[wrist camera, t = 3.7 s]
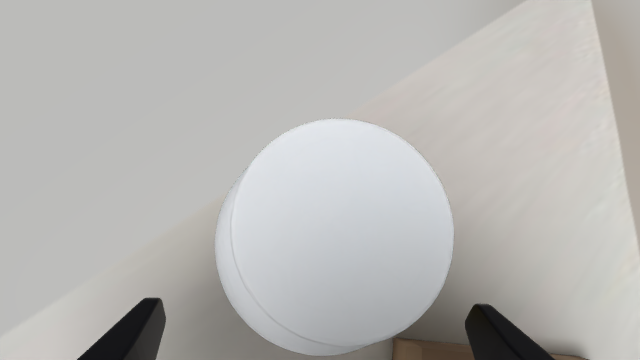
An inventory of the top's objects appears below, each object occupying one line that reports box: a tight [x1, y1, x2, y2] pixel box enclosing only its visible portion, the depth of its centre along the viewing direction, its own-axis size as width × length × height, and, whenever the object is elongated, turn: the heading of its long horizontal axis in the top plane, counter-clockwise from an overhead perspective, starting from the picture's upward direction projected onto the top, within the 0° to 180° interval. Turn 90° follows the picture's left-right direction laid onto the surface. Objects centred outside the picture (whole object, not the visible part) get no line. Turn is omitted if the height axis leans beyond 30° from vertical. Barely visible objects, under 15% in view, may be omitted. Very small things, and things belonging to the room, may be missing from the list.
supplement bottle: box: [215, 118, 454, 356], centre depth 12 cm, size 7×7×13 cm
